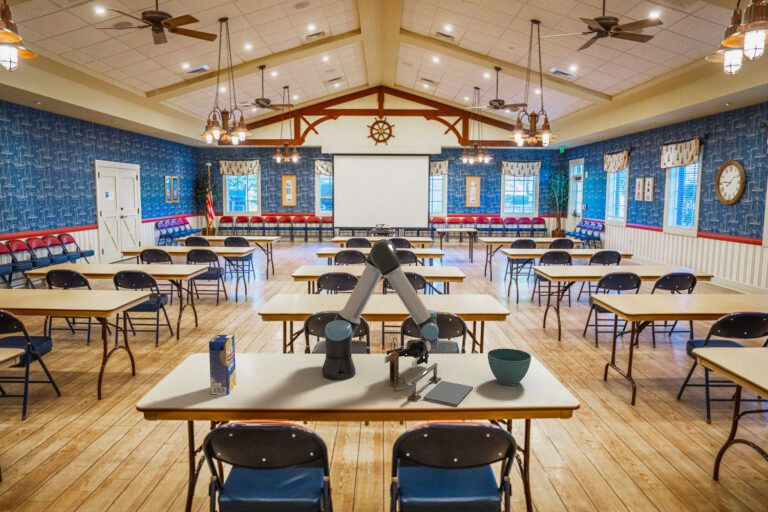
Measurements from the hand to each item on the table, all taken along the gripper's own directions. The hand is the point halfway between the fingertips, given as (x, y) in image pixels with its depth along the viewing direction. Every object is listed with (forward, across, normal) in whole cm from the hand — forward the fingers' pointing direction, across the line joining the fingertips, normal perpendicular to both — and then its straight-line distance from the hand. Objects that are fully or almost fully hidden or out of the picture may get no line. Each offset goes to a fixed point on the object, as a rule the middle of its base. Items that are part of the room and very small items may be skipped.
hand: (398, 362), depth 207 cm
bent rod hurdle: (-4, -10, -11) cm, 16 cm away
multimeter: (-4, 0, -11) cm, 12 cm away
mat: (-4, -21, -11) cm, 24 cm away
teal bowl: (-29, -39, -11) cm, 50 cm away
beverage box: (+36, +63, -11) cm, 74 cm away
